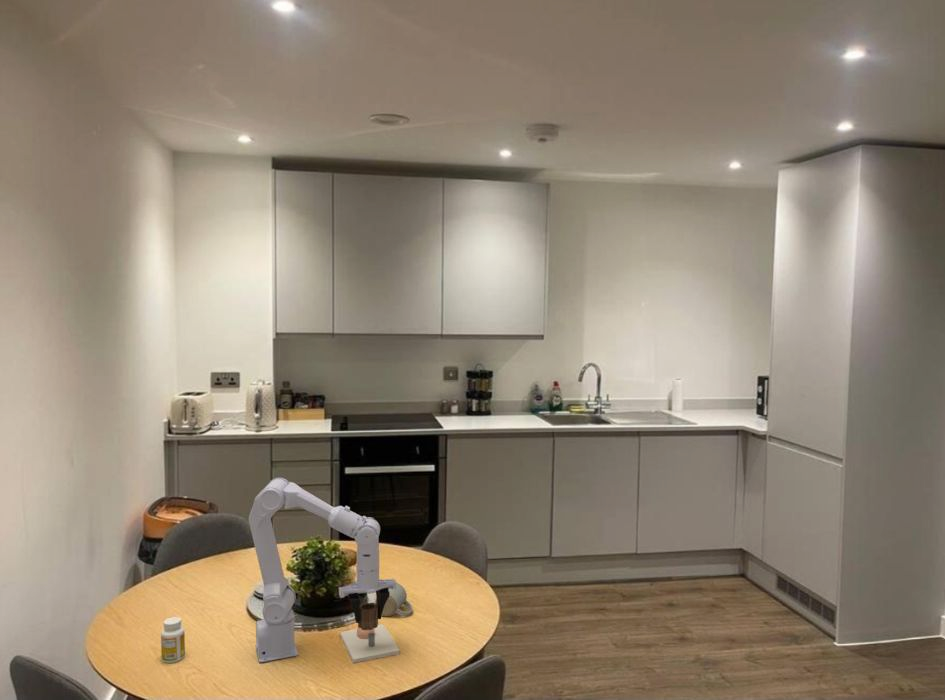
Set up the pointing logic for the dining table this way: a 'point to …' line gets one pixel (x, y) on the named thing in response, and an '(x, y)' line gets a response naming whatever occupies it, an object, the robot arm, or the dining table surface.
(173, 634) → the supplement bottle
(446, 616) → the dining table surface
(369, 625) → the walnut pinion gear
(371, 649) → the gear board
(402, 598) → the ceramic mug
